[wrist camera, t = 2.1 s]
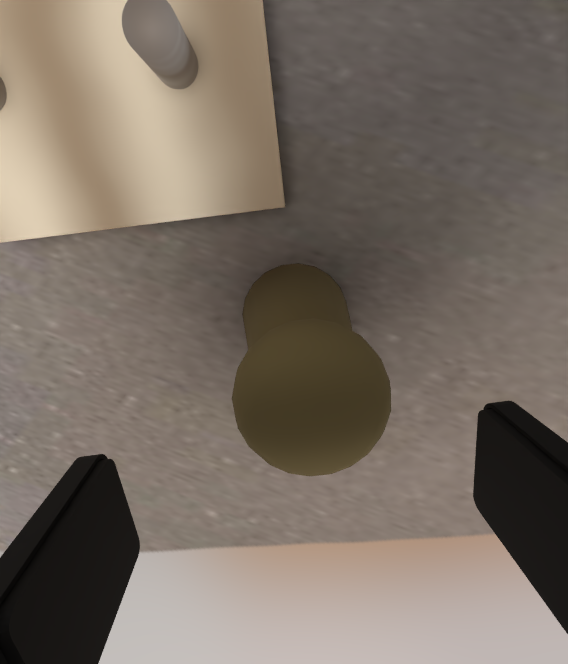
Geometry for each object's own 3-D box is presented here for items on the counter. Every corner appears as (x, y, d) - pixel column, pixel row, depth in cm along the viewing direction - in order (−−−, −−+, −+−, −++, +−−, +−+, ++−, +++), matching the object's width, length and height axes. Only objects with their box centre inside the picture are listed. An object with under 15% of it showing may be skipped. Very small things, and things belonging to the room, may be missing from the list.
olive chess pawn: (302, 381, 22) (327, 536, 12) (221, 324, 21) (170, 443, 10) (368, 307, 21) (464, 409, 10) (286, 240, 19) (302, 281, 9)
